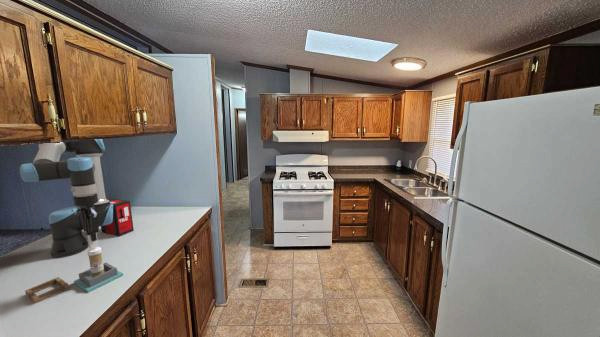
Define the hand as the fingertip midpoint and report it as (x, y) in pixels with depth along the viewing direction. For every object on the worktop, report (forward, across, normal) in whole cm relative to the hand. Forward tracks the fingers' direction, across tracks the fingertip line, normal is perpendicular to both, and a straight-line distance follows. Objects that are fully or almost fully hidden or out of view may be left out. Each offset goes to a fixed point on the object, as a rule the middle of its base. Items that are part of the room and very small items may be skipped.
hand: (94, 247), depth 105 cm
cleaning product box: (+15, -48, +30) cm, 59 cm away
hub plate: (+15, 0, 0) cm, 15 cm away
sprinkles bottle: (+15, 0, 0) cm, 15 cm away
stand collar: (+15, -9, -14) cm, 23 cm away
